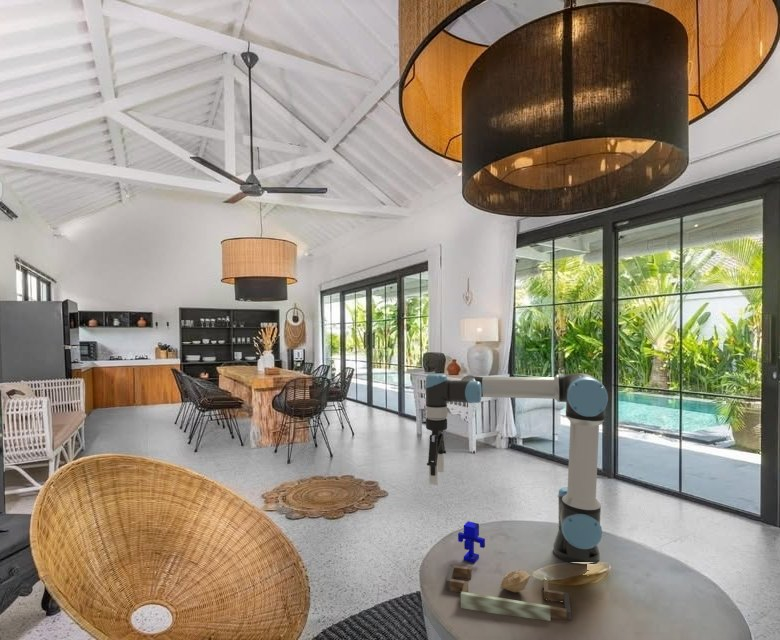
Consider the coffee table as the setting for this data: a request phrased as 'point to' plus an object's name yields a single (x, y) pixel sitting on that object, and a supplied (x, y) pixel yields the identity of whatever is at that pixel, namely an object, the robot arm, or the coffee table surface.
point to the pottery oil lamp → (515, 581)
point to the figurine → (471, 540)
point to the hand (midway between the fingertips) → (437, 477)
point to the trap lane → (503, 604)
